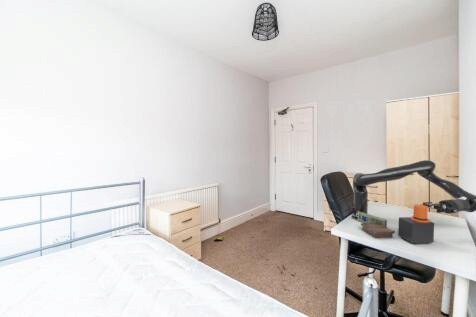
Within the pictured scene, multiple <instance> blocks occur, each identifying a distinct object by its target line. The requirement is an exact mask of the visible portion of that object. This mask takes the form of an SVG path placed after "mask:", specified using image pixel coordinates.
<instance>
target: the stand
mask: <svg viewBox="0 0 476 317" xmlns="http://www.w3.org/2000/svg"><path fill="white" fill-rule="evenodd" d="M360 226H361V227H362V231H363V232H365V233H366V234H368V235H369V236H371V237H372V238H374V239H385V238H387V239H388V238H391V239H392V238H393V235H394V234H395V230H393V229H391V228H389V227H388V226H387V227H386V226H384V225H382V224H380V223H363V222H360Z"/></svg>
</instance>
